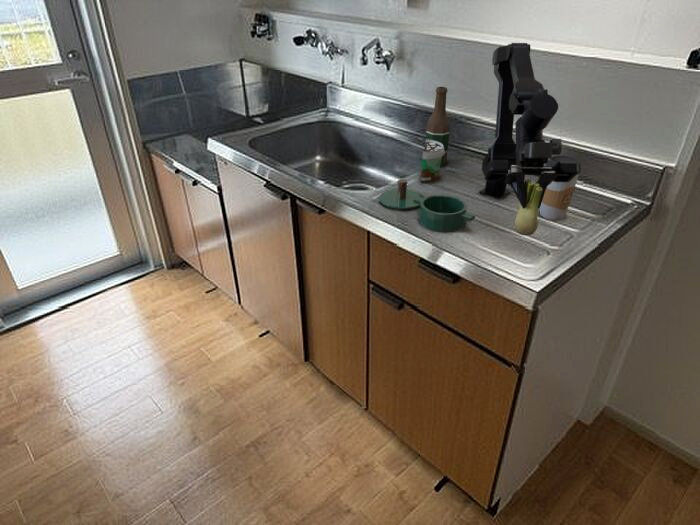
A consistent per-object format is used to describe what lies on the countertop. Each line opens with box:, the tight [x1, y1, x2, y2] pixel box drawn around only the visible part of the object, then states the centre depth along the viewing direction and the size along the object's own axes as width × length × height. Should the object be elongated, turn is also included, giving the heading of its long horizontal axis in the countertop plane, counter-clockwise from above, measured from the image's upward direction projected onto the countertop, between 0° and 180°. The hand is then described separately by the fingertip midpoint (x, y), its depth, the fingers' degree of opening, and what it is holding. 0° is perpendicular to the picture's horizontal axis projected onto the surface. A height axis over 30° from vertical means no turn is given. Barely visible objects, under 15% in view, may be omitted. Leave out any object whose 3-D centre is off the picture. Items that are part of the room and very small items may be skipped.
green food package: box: [420, 138, 445, 184], centre depth 149 cm, size 12×6×10 cm, turn 168°
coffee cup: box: [539, 154, 582, 221], centre depth 126 cm, size 8×8×15 cm
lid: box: [378, 178, 425, 210], centre depth 135 cm, size 12×12×6 cm
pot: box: [413, 194, 476, 233], centre depth 125 cm, size 11×17×5 cm
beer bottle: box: [424, 86, 451, 168], centre depth 155 cm, size 8×8×24 cm
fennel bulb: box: [514, 178, 542, 236], centre depth 108 cm, size 6×5×12 cm
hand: (531, 208), depth 106 cm, fingers closed on fennel bulb, 2 cm apart
